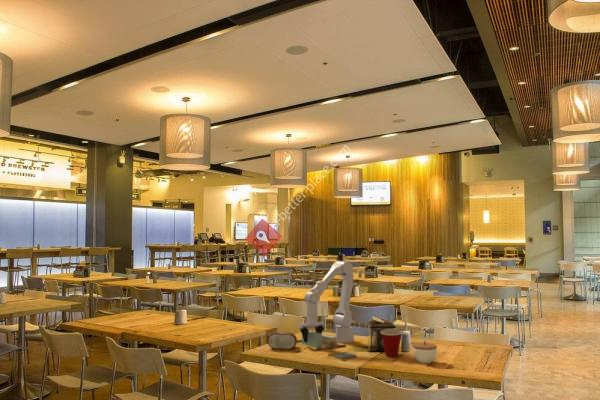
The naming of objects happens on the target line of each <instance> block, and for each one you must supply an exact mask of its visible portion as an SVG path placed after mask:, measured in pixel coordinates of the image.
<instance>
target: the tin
mask: <svg viewBox="0 0 600 400" xmlns="http://www.w3.org/2000/svg"><path fill="white" fill-rule="evenodd" d="M297 340H298V337H297V336H296V335H295V334H294V333H293V332H290V331H285V332H284V331H273V332H271V333H270V334H269V336H268V337H267V345H268V346H269V347H270V348H272V349H274V350H293V349H294V348H295V347H296V345H297V343H298V342H297Z"/></svg>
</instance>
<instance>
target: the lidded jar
mask: <svg viewBox="0 0 600 400" xmlns="http://www.w3.org/2000/svg"><path fill="white" fill-rule="evenodd" d="M412 347H413V348H412V350H413V356H414V358H415V360H416V361H417V362H418V363H419V362H420V364H424V363H429V364H432V363H433V361H434V360H436V356H437V351H438V350H437V349H438V346H437V344H434V343H431V342H426V340H424V341H423V342H415V343H413V344H412ZM431 362H432V363H431Z"/></svg>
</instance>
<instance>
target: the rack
mask: <svg viewBox="0 0 600 400" xmlns="http://www.w3.org/2000/svg"><path fill="white" fill-rule="evenodd" d="M297 343H302V339H297ZM346 344H347V343H343V344H340V343H339V344H338V343H337V345H334V346H328V345H324V344H322V348H315V349H316V351H323V350H330V349H338V348H339V349H340V348H345V347H346V346H347V345H346Z"/></svg>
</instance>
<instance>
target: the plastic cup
mask: <svg viewBox="0 0 600 400" xmlns="http://www.w3.org/2000/svg"><path fill="white" fill-rule="evenodd" d="M379 333H380V334H381V339H382V344H383V348H384V355H385V356H386V357H387V356H388V357H387V358H398V356H399V350H400V345H401V343H400V342H401V338H402V334H403V330H402V329H397V328H387V329H381V330H380V331H379Z"/></svg>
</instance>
